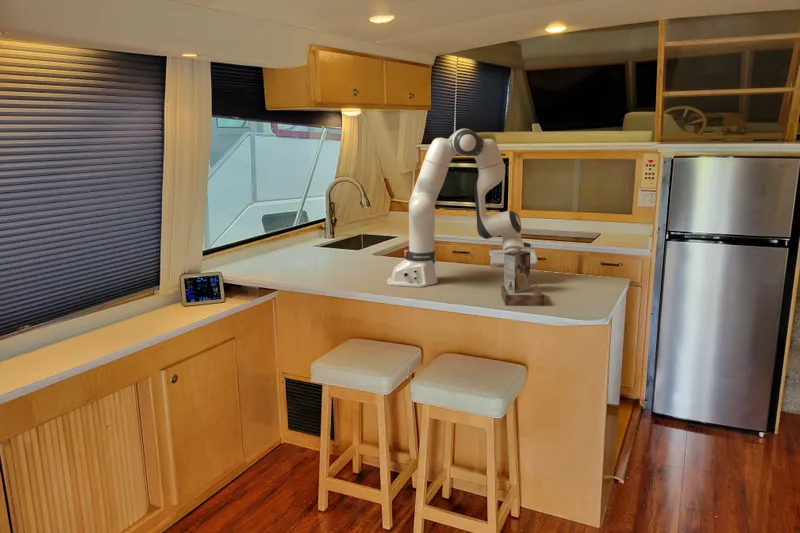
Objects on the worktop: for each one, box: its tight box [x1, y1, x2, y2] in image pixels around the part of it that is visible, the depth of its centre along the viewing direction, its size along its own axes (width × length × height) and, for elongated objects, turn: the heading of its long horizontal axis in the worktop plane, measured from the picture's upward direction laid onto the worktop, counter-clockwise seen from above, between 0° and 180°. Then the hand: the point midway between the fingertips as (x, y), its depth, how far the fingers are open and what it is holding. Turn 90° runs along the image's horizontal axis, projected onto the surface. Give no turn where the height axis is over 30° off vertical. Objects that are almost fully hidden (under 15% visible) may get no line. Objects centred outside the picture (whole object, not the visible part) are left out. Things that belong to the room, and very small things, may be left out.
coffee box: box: [503, 251, 531, 294], centre depth 243 cm, size 9×6×16 cm
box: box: [500, 284, 545, 307], centre depth 230 cm, size 14×15×4 cm
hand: (514, 275), depth 251 cm, fingers closed
